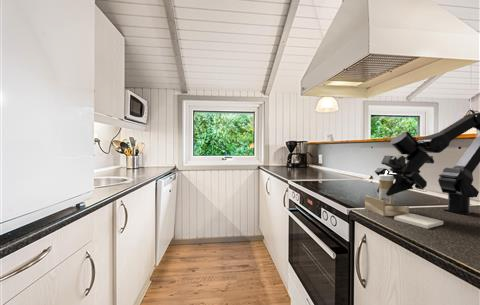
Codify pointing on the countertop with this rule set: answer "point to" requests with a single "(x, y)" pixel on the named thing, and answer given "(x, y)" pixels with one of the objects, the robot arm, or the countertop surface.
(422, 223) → the cream tile
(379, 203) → the bottle holder
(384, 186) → the sprinkles bottle
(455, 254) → the countertop surface
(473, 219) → the countertop surface
